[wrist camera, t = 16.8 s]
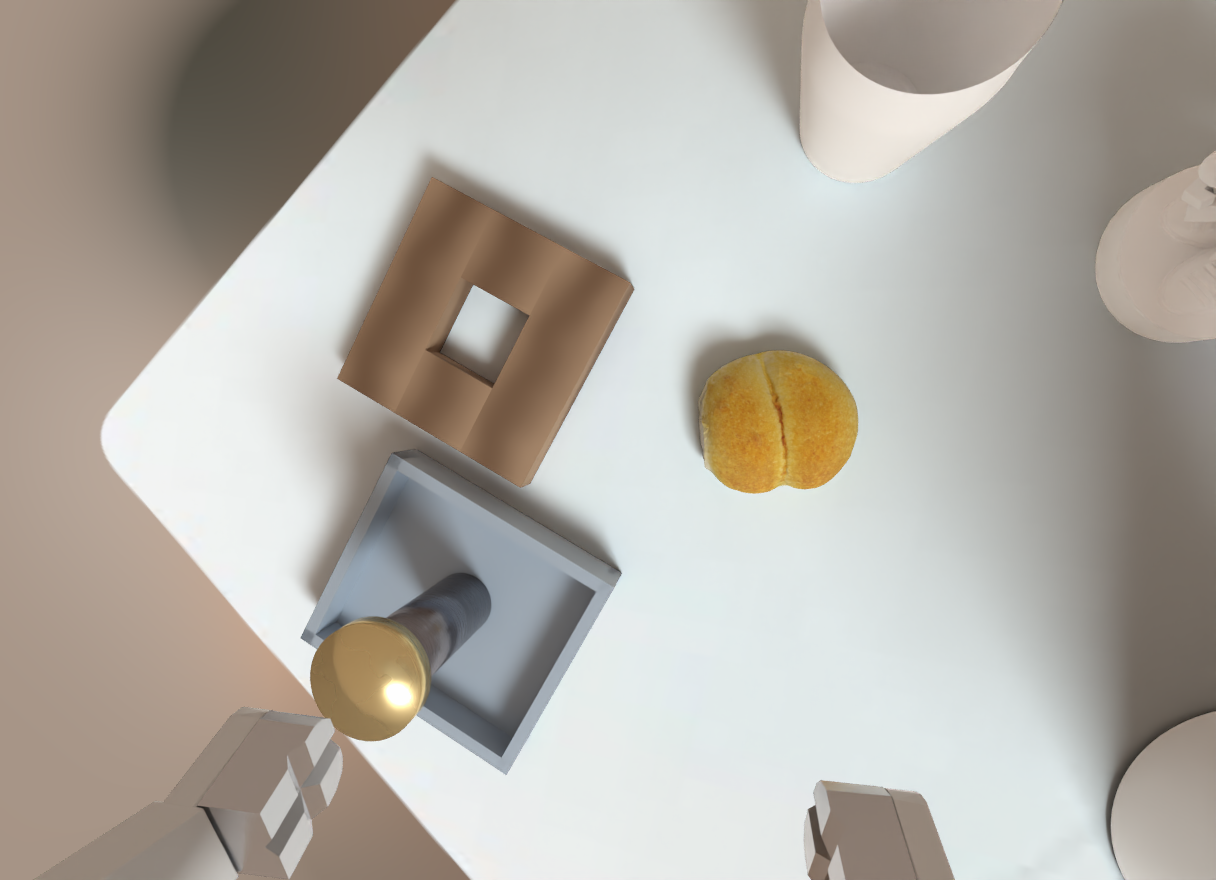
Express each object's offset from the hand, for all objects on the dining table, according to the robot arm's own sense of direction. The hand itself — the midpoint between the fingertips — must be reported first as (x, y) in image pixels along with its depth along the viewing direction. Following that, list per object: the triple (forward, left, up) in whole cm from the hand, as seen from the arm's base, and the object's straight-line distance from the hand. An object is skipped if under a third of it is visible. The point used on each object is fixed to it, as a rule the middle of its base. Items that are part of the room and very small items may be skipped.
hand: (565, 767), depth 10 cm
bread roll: (-3, -7, -28) cm, 29 cm away
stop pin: (+8, +13, -26) cm, 31 cm away
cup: (+1, -24, -27) cm, 37 cm away
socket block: (+15, -3, -27) cm, 31 cm away
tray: (+8, +13, -27) cm, 31 cm away
